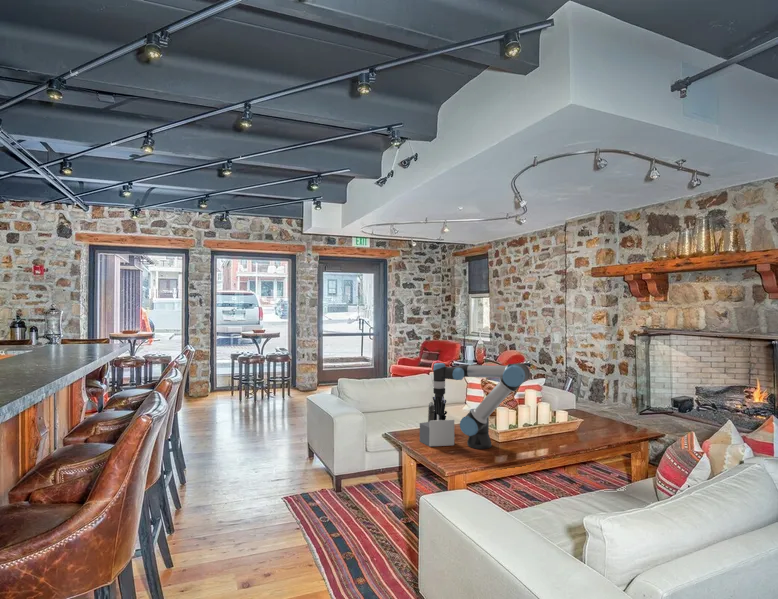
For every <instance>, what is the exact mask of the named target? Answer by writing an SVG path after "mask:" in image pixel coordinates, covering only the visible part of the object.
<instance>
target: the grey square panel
mask: <svg viewBox="0 0 778 599" xmlns="http://www.w3.org/2000/svg"><path fill="white" fill-rule="evenodd" d="M429 446H430V447H442V446H443V447H445V446H446V447H447V446H455V419H445V420H432V421H430V442H429ZM429 446H428V447H429Z"/></svg>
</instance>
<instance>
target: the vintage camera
mask: <svg viewBox="0 0 778 599" xmlns="http://www.w3.org/2000/svg"><path fill="white" fill-rule="evenodd" d="M427 410H428V411H427V412H428V414H427V422H430V421H432V420H437V414H436V412H435V410H434V402H431V401H430V403H428V409H427ZM447 414H448V411H447V410H445V411H444V414H442V420H447V419H446V418H447V416H446V415H447Z"/></svg>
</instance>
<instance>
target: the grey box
mask: <svg viewBox="0 0 778 599" xmlns="http://www.w3.org/2000/svg"><path fill="white" fill-rule="evenodd" d="M419 442H420V443H421V444H424V445H425V446H427V447H429V448H430V447H431V446H429V442H430V422H428V421H426V422H425V421H424V422H420V423H419Z"/></svg>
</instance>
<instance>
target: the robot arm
mask: <svg viewBox="0 0 778 599" xmlns="http://www.w3.org/2000/svg"><path fill="white" fill-rule="evenodd" d="M432 371H433V381H432V382H433V383H432V384H433V385H432V386H433V395H434V396H432V401H433V402H432V403H433V404H434V411H435V412H436V414H437V420H442V414H444V413H445V411H446V410H445V409H446V403H447V399H445V397H444V396H445V394H446V388H445V387H446V380H455V381H462V380H463V379H464V378H493V379H494V378H497V379H499V382H498V383H497V384H496V385H495V386H494V387H493V389H492V390H491V391H490V392H488V394H487V396H486V397H485V398H483V400H482V401H481V402H480V403H479V404H478V405H477V406H476V408H471V409H469V410H470V411H469V412H468V413H467V414H466V415H465V416H463V417H462V419H460V421H459V428H460V430H461V432H462V433H463V434H464V435H466V436H468V438H467V441H466V442H467V443H466V444H467V446H468V447H469V448H472V449H477V450H486V449H490V448H492V441H491V440H492V439H491V438H490V433H489V432H490V431H489V430H490V429H489V428H490V427H489V426H490V424H489V423H490V422H489V420H490V416H491V414H493V412H494V411H496V409H497V408H498V407H499V406H500V404H501V403H503V402H504V400H505V399H506V398H507V397H508V395H509V394H511V392H516V391H517V390H518V389H519V388H520V387H521V385H523V384H524V383H525V382H527V381H528V380H529V378H530V375H531V371H530V369H529V367H528V366H527V364H524V363H519V362H518V363H508V364H507V365H483V364H480V365H475V364H474V365H473V364H471V365H470V364H469V365H468V364H460V365H457V366H454V367H450V366H446V364H445V363H443V362H436V363H434V364H433V369H432Z"/></svg>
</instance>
